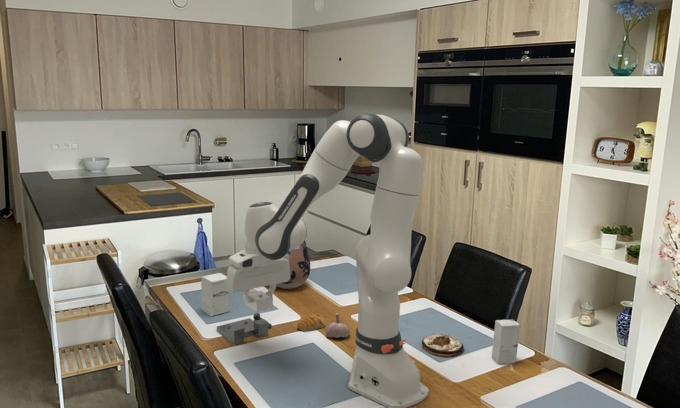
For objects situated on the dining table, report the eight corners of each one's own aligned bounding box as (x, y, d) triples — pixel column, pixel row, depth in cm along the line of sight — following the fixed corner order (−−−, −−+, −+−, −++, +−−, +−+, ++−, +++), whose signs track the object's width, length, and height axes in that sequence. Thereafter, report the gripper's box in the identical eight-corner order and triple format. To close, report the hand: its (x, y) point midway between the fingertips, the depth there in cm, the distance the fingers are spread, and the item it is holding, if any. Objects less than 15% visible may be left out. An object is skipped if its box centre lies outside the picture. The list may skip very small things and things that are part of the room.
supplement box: (211, 317, 187) (210, 281, 184) (201, 310, 192) (200, 275, 190) (230, 311, 192) (230, 277, 189) (219, 305, 197) (219, 271, 194)
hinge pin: (272, 327, 180) (272, 320, 179) (266, 329, 179) (266, 322, 178) (259, 318, 187) (259, 312, 186) (253, 320, 185) (253, 313, 185)
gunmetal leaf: (268, 335, 174) (268, 321, 173) (234, 344, 167) (234, 331, 166) (249, 322, 184) (249, 309, 183) (216, 330, 176) (216, 317, 175)
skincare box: (498, 364, 160) (502, 326, 158) (490, 357, 165) (494, 319, 162) (517, 363, 162) (521, 324, 159) (509, 356, 166) (513, 318, 164)
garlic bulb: (322, 338, 173) (323, 315, 172) (330, 329, 180) (331, 307, 179) (344, 343, 171) (345, 319, 169) (352, 334, 178) (353, 310, 176)
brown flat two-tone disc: (436, 364, 160) (437, 351, 160) (409, 343, 174) (410, 330, 173) (476, 355, 167) (477, 343, 166) (447, 335, 180) (448, 323, 179)
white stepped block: (272, 307, 164) (272, 295, 163) (256, 311, 161) (256, 299, 160) (255, 297, 172) (255, 286, 171) (239, 301, 169) (239, 289, 168)
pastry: (305, 334, 176) (305, 323, 176) (292, 328, 181) (292, 317, 180) (327, 327, 183) (327, 316, 182) (314, 320, 187) (314, 310, 187)
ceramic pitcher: (308, 294, 211) (309, 231, 206) (253, 292, 211) (254, 229, 206) (311, 279, 228) (312, 220, 223) (260, 277, 228) (261, 218, 223)
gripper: (283, 248, 171) (282, 290, 173) (223, 258, 158) (223, 303, 161) (295, 253, 166) (293, 296, 168) (234, 264, 153) (233, 310, 156)
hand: (259, 300), depth 164 cm, fingers closed on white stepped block, 5 cm apart
